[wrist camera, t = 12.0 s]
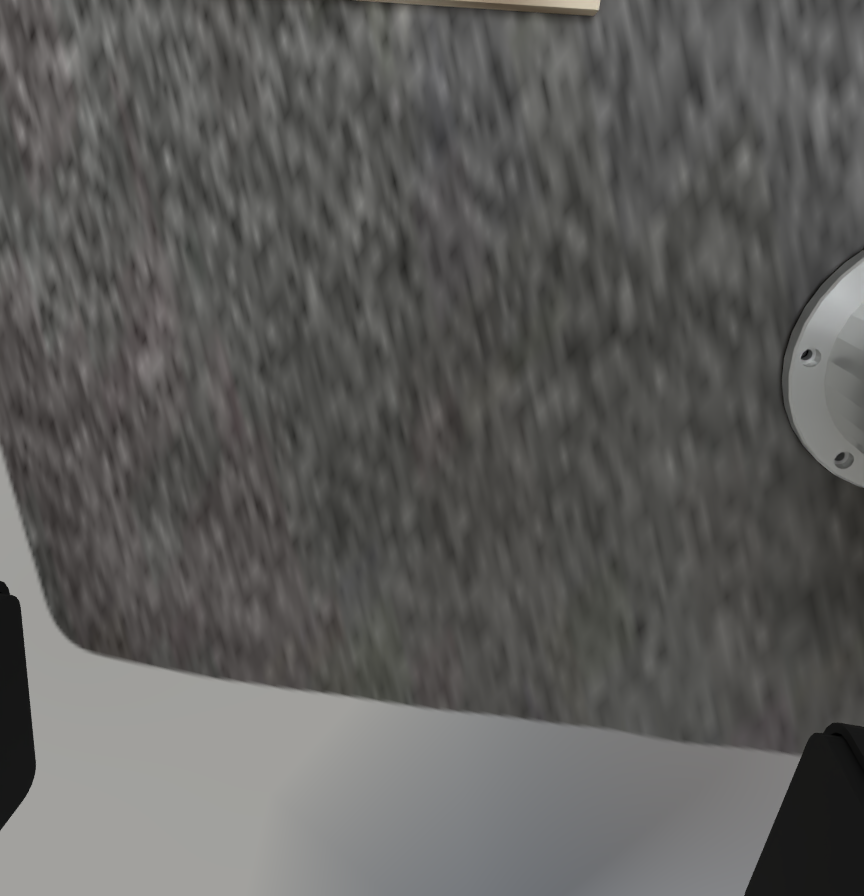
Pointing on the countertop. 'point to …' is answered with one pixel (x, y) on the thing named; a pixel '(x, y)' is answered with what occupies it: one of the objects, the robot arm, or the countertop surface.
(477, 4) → the board
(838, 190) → the countertop surface
